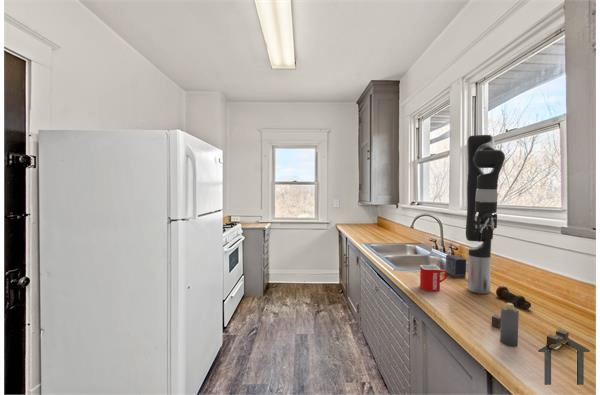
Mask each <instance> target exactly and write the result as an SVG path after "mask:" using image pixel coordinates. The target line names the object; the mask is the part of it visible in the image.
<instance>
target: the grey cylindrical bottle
mask: <svg viewBox="0 0 600 395" xmlns="http://www.w3.org/2000/svg"><path fill="white" fill-rule="evenodd" d="M505 305H506V306H505V307H501V308H500V316H501V327H500V328H499V329H500V331H499V332H500V333H499V334H500V335H499V336H500V338H499V341H500V343H501V344H502V345H505V346H507V347H511V348H516V347H518V345H519V344H518V343H519V320H520V316H519V313H520V312H519V310H518V309H517V308H515V307H514V306H515V304H514V303H512V302H506V304H505Z"/></svg>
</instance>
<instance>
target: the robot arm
mask: <svg viewBox="0 0 600 395" xmlns="http://www.w3.org/2000/svg"><path fill="white" fill-rule="evenodd" d="M494 139H495V138H494V137H493V135H491V134H477V135H475V134H474V135H469V137H467V143H466V148H467V149H466V150H467V182H466V184H467V185H466V187H467V188H466V196H467V198H466V199H467V200H466V206H467V207H466V208H467V209H466V222H465V238H466V240H467V241H469V242H477V243H481V244H480V245H477V246H473V247H470V248H469V249H468V258H467V259H468V260H467V262H468V263H467V265H468V268H467V269H468V270H467V290H468V291H469V292H472V293H476V294H479V295H480V294H481V295H485V294H490V293H491V279H492V278H491V257H492V256H491V254H492V240H493V239H494V231H495V230H496V229H497V228H498V213H497V210H498V197H499V196H498V184H499V183H498V182H499V176H500V173H501V171H502V170H501V169H502V167H503V165H504V163H505V160H506V155H505V153H504V152H503V151H502V150H501V149H495V146H496V145H495V140H494ZM482 169H492V170H491V171H490V172H488V173H485V172H484V171H483V170H482Z"/></svg>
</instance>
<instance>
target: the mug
mask: <svg viewBox="0 0 600 395" xmlns="http://www.w3.org/2000/svg"><path fill="white" fill-rule="evenodd" d="M419 267H420V268H419V269H420V274H419V275H420V277H419V278H420V279H419V282H420V283H419V284H420V285H419V286H420V288H421V289H422V291H424V290H425V292H440V291H441V289H440V288H441V283H442V282H444V281H445V280H446V279H447V278H448V277H447V275H448V274H447V272H446V269H445V270H444V269H441V268H440V267H439V266H438V265H435V264H433V265H432V264H420V265H419ZM441 273H444V277H443V278H441Z"/></svg>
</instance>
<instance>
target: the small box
mask: <svg viewBox="0 0 600 395" xmlns="http://www.w3.org/2000/svg"><path fill="white" fill-rule="evenodd" d="M445 271H446V272H447V275H449V276H451V277H453V278H455V279H458V278H459V279H462V278H463V279H464V278H466V274H467V272H466V271H467V259H466V258H464V257H461V256H458V255H456V254H446V255H445Z"/></svg>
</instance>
